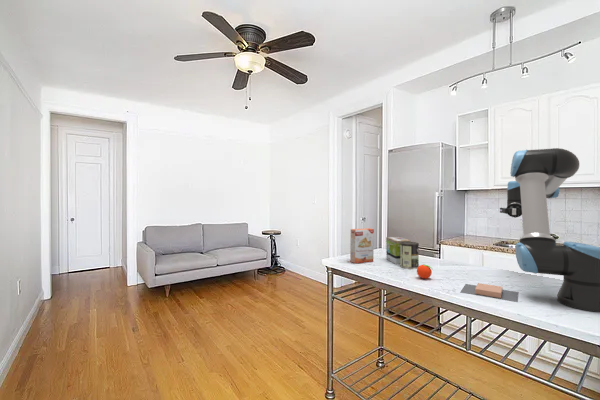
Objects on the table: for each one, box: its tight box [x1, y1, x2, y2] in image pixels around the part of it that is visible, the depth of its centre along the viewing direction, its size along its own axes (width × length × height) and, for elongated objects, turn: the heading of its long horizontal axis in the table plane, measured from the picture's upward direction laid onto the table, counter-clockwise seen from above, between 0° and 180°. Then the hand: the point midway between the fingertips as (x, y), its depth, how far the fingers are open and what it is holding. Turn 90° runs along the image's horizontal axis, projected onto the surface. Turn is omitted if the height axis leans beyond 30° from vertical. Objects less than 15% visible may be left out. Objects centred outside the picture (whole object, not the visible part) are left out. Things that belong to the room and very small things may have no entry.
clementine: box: [416, 264, 432, 280], centre depth 151 cm, size 8×7×7 cm
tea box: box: [385, 236, 412, 265], centre depth 189 cm, size 15×10×15 cm, turn 6°
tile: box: [475, 282, 504, 298], centre depth 127 cm, size 9×2×10 cm
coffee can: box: [399, 241, 420, 270], centre depth 175 cm, size 10×10×14 cm
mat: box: [459, 283, 519, 303], centre depth 128 cm, size 20×15×1 cm
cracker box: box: [349, 227, 375, 264], centre depth 189 cm, size 14×6×21 cm, turn 113°
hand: (513, 212), depth 140 cm, fingers closed
